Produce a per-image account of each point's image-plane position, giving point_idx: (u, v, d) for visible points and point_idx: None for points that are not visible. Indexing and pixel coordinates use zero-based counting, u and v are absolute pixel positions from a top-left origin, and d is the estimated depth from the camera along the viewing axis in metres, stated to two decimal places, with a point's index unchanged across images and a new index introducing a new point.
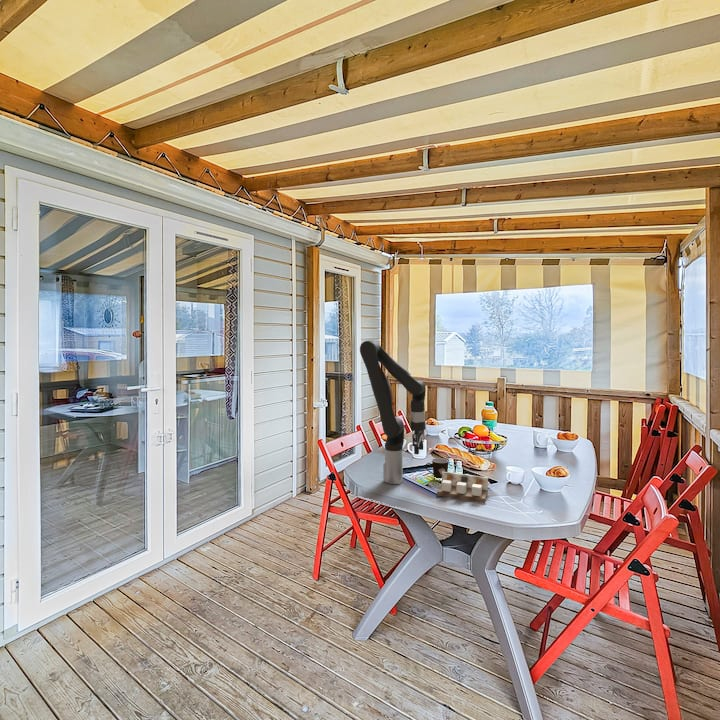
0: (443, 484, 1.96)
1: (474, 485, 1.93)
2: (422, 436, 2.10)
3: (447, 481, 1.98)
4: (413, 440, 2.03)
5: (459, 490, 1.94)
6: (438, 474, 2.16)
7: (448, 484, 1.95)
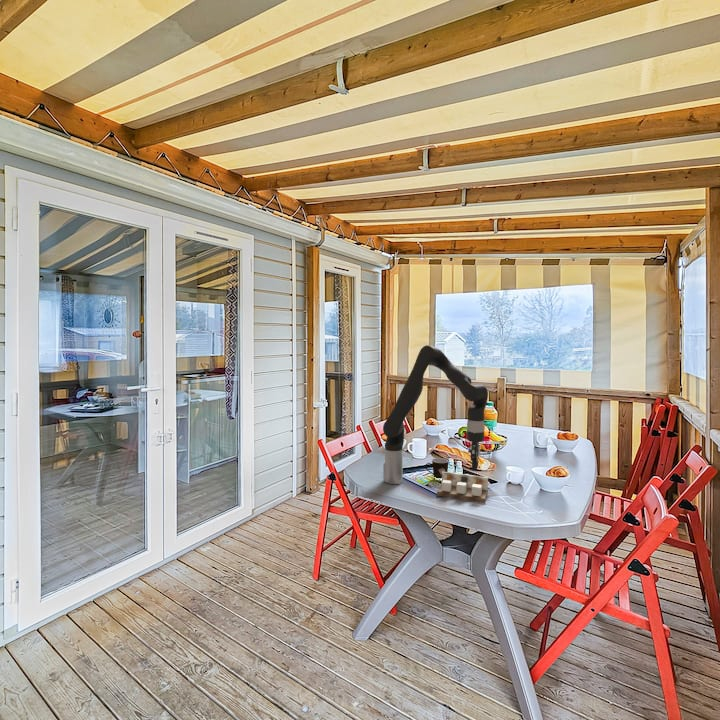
0: (443, 484, 1.96)
1: (474, 485, 1.93)
2: (479, 448, 1.84)
3: (447, 481, 1.98)
4: (472, 456, 1.80)
5: (459, 490, 1.94)
6: (438, 474, 2.16)
7: (448, 484, 1.95)
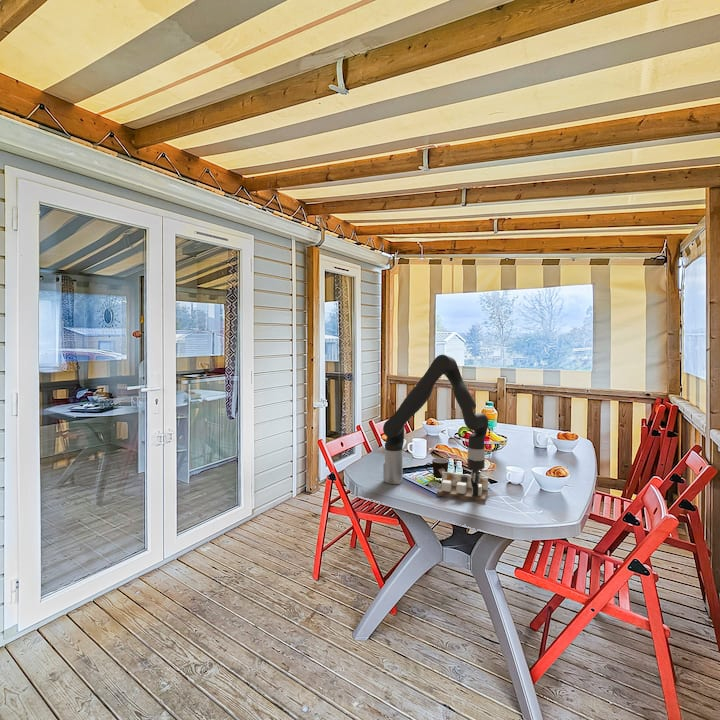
0: (443, 484, 1.96)
1: None
2: (479, 475, 1.89)
3: (447, 481, 1.98)
4: (472, 483, 1.85)
5: (459, 490, 1.94)
6: (438, 474, 2.16)
7: (448, 484, 1.95)
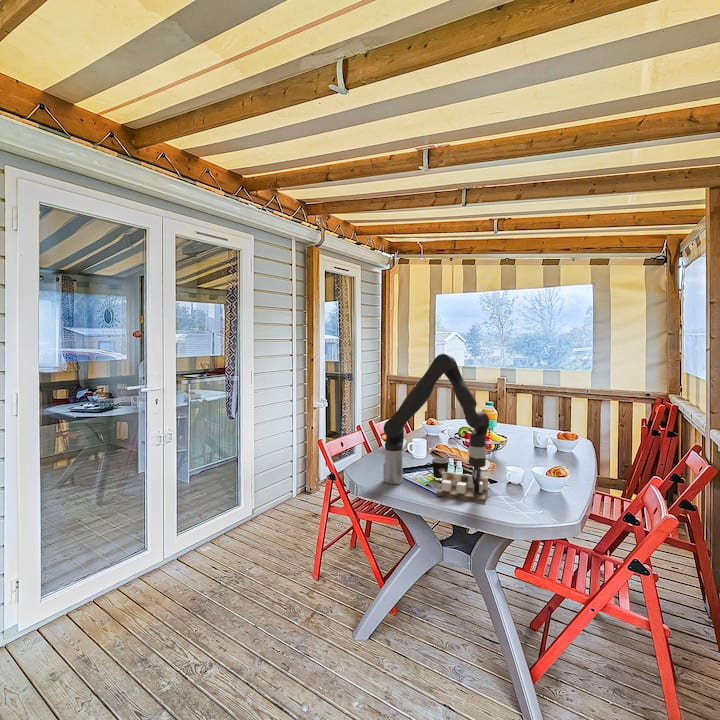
0: (443, 484, 1.96)
1: None
2: None
3: (447, 481, 1.98)
4: (474, 481, 1.88)
5: (459, 490, 1.94)
6: (438, 474, 2.16)
7: (448, 484, 1.95)
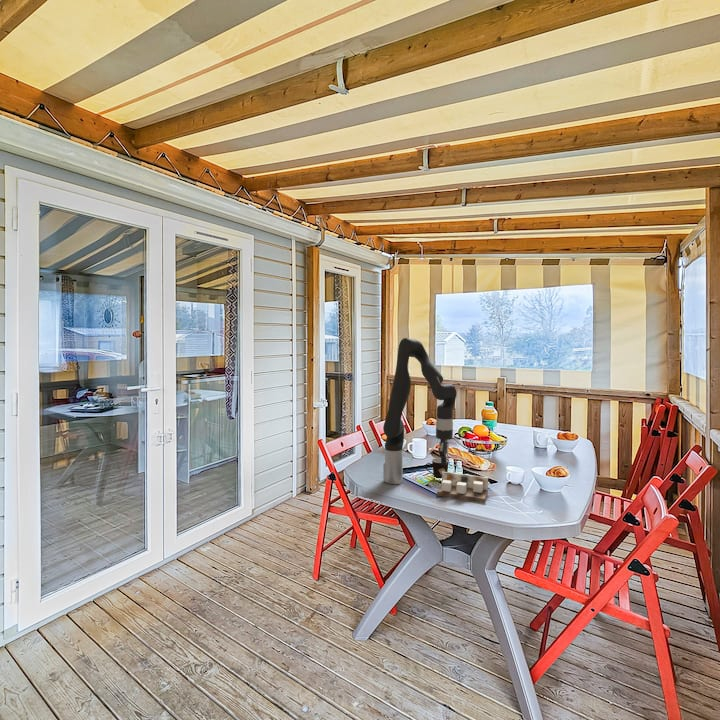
0: (443, 484, 1.96)
1: (475, 482, 1.97)
2: (447, 446, 1.90)
3: (447, 481, 1.98)
4: (440, 453, 1.86)
5: (459, 490, 1.94)
6: (438, 474, 2.16)
7: (448, 484, 1.95)
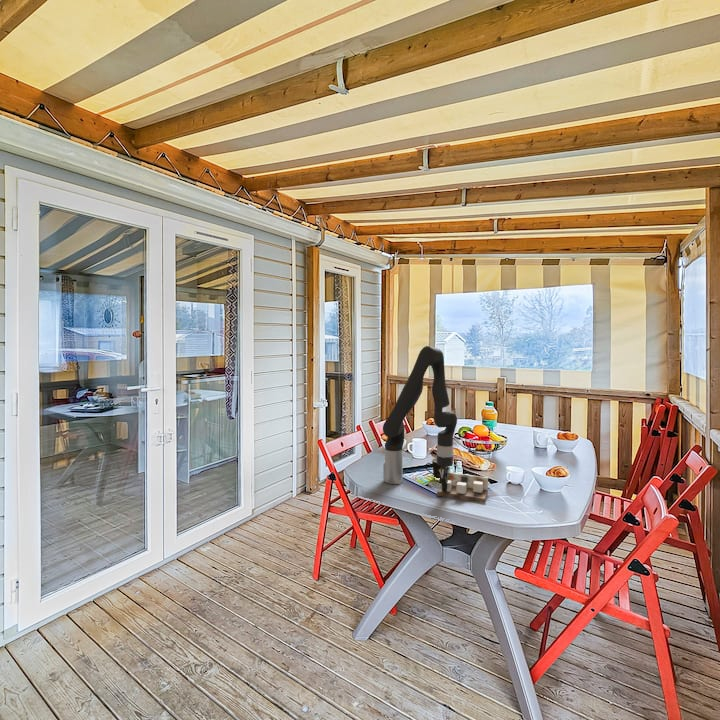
0: None
1: (475, 482, 1.97)
2: (448, 472, 1.94)
3: None
4: (441, 479, 1.90)
5: (459, 490, 1.94)
6: (438, 474, 2.16)
7: (448, 484, 1.96)
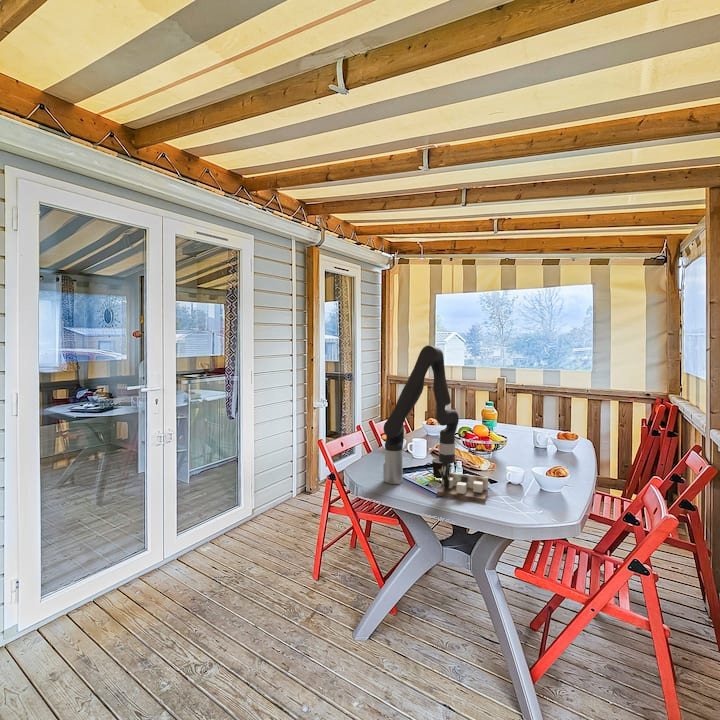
0: None
1: (475, 482, 1.97)
2: None
3: None
4: (443, 476, 1.94)
5: (459, 490, 1.94)
6: (438, 474, 2.16)
7: (450, 481, 2.00)
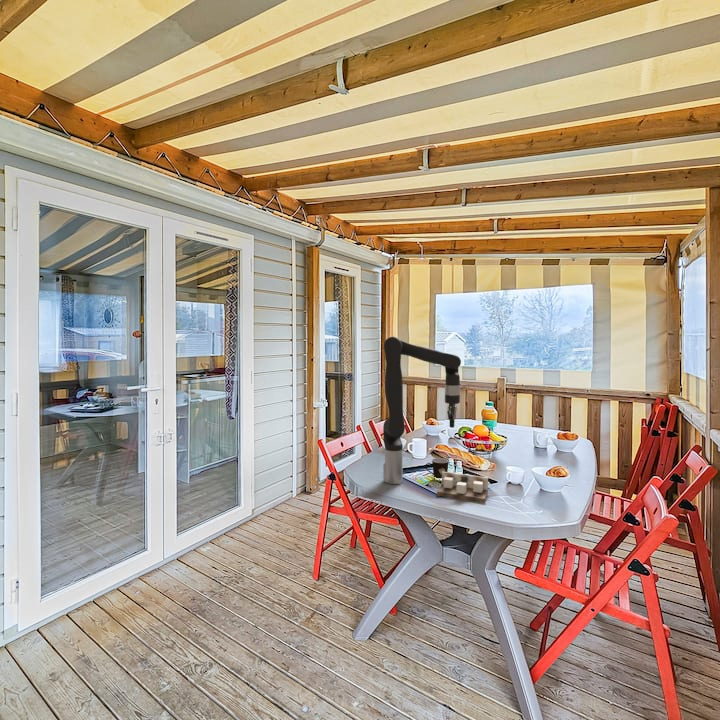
0: (445, 481, 2.01)
1: (475, 482, 1.97)
2: (455, 410, 2.12)
3: (449, 478, 2.02)
4: (449, 416, 2.08)
5: (459, 490, 1.94)
6: (438, 474, 2.16)
7: (450, 481, 2.00)
